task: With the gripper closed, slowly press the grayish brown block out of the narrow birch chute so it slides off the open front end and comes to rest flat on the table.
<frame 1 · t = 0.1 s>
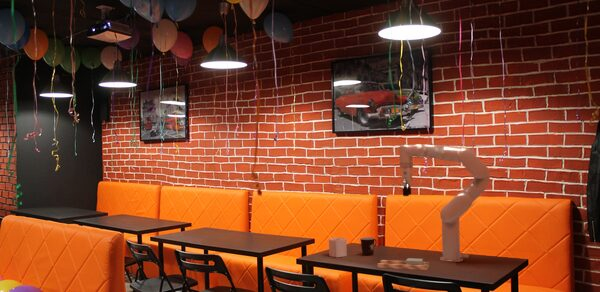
hand: (407, 195, 308), 37 cm above the table, tool pointing down, fingers open, 9 cm apart
grayish brown block: (414, 267, 281), point 1 cm above the table, touching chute
coffee mug: (370, 255, 322), on the table
white box: (338, 256, 321), on the table
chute: (403, 268, 283), on the table
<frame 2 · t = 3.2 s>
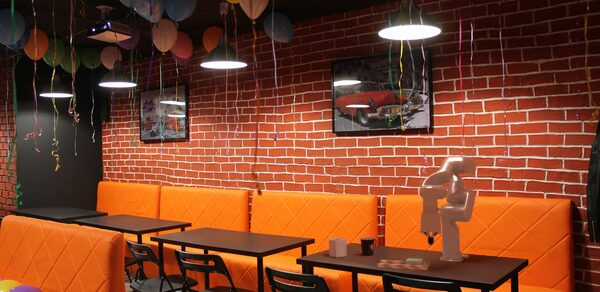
hand: (430, 244, 277), 13 cm above the table, tool pointing down, fingers closed
nothing on the table moved.
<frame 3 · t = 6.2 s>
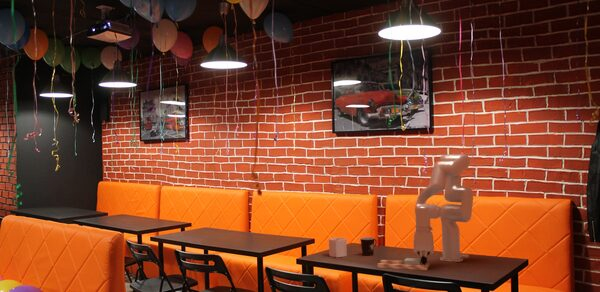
hand: (424, 264, 279), 3 cm above the table, tool pointing down, fingers closed
grayish brown block: (412, 267, 281), point 1 cm above the table, touching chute, gripper
everything else where it was.
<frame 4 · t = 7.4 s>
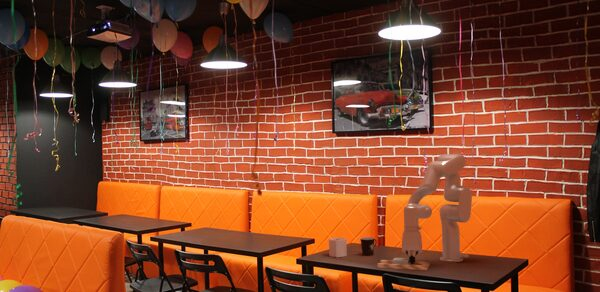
hand: (412, 263, 281), 3 cm above the table, tool pointing down, fingers closed
grayish brown block: (401, 266, 283), point 1 cm above the table, touching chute, gripper
everything else where it was.
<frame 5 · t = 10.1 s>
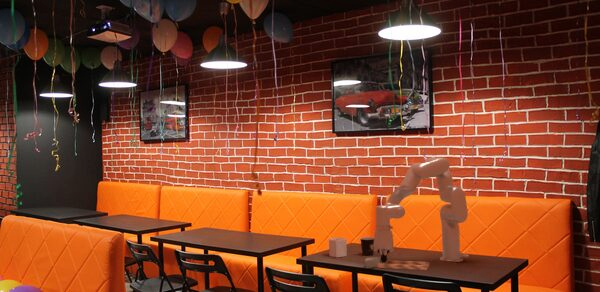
hand: (383, 262, 286), 3 cm above the table, tool pointing down, fingers closed
grayish brown block: (374, 266, 288), on the table, tilted 8°, touching gripper
everything else where it was.
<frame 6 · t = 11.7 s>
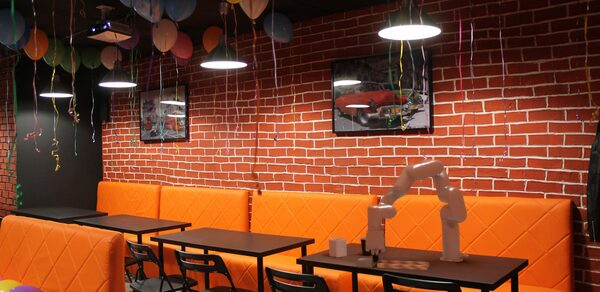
hand: (375, 261, 288), 3 cm above the table, tool pointing down, fingers closed
grayish brown block: (366, 266, 291), on the table, touching gripper
everything else where it was.
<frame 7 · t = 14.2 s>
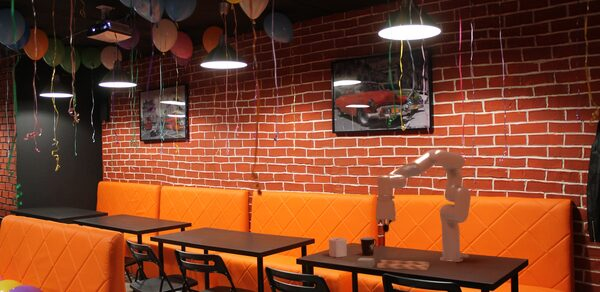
hand: (386, 232, 286), 19 cm above the table, tool pointing down, fingers closed
grayish brown block: (365, 266, 291), on the table
everything else where it was.
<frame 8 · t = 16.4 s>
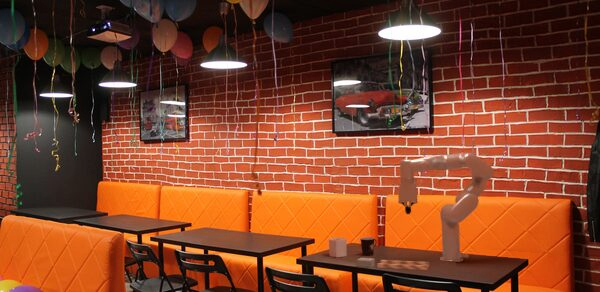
hand: (408, 213, 298), 27 cm above the table, tool pointing down, fingers closed
nothing on the table moved.
at the end: grayish brown block inside the target area (2.6 cm from its centre), on the table; grayish brown block tilted 0°; grayish brown block touching table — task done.
